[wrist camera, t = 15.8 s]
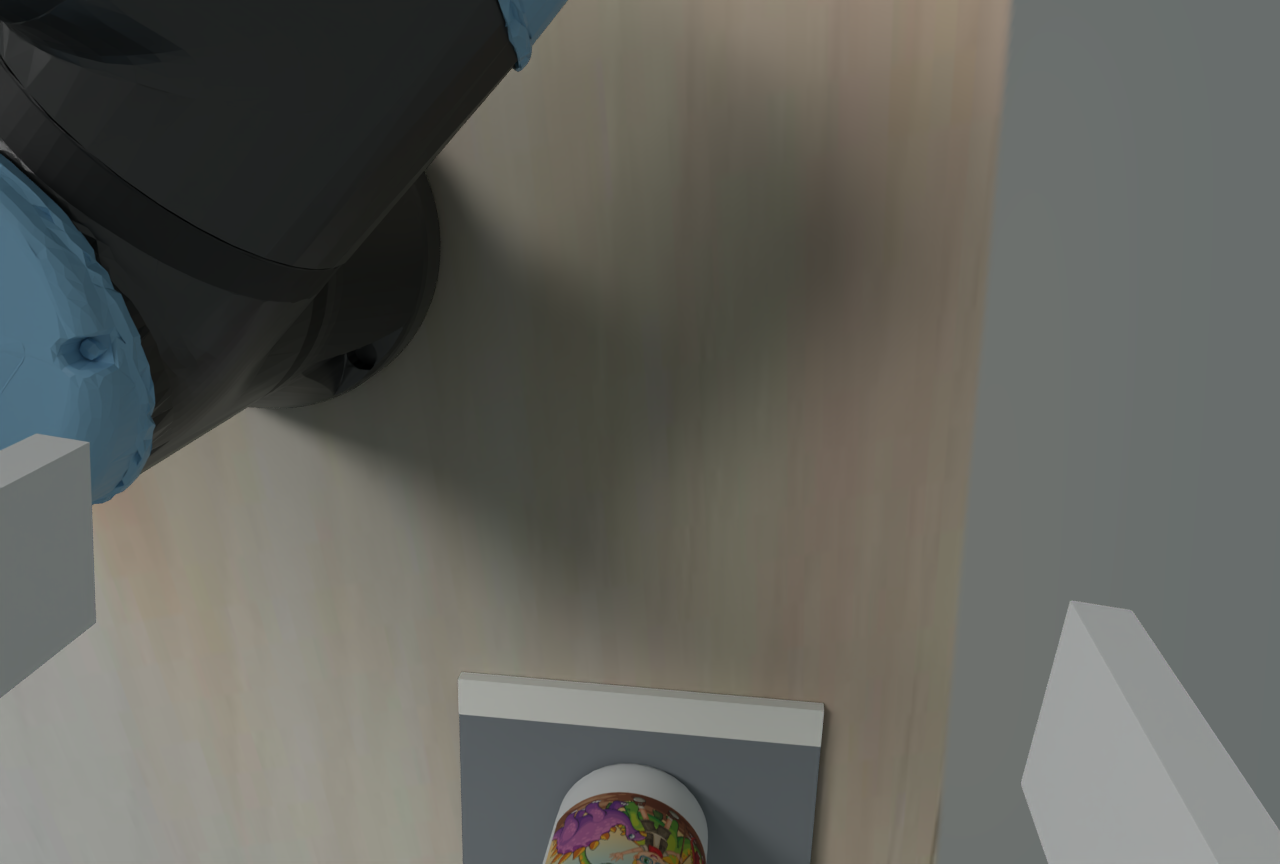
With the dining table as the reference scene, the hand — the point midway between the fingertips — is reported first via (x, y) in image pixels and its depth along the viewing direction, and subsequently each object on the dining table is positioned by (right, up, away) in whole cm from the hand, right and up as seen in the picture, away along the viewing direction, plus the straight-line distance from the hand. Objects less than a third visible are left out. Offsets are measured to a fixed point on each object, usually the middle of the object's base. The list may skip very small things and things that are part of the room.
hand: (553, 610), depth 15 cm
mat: (+1, -17, +42) cm, 45 cm away
